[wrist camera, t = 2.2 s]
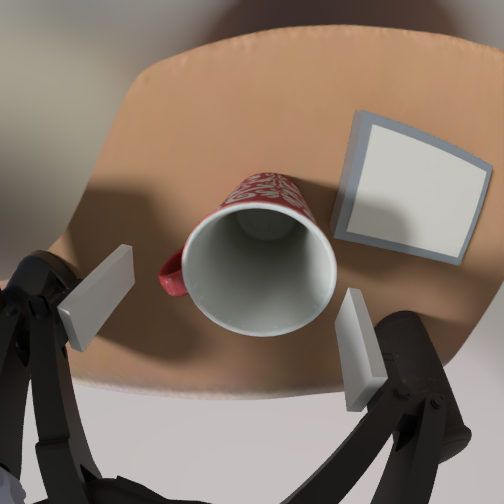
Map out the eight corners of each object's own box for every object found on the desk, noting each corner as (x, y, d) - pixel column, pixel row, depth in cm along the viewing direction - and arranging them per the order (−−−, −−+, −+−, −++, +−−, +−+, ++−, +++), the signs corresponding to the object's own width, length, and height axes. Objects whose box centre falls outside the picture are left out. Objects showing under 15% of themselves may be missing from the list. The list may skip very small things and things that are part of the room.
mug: (300, 151, 25) (319, 181, 13) (322, 236, 29) (346, 322, 17) (179, 188, 28) (110, 244, 16) (210, 263, 31) (171, 350, 19)
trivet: (328, 226, 28) (333, 239, 25) (354, 111, 22) (364, 110, 20) (447, 253, 28) (459, 266, 25) (477, 160, 22) (494, 166, 19)
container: (367, 361, 36) (390, 485, 19) (364, 317, 33) (401, 463, 15) (419, 346, 35) (460, 460, 17) (424, 301, 31) (487, 428, 13)
